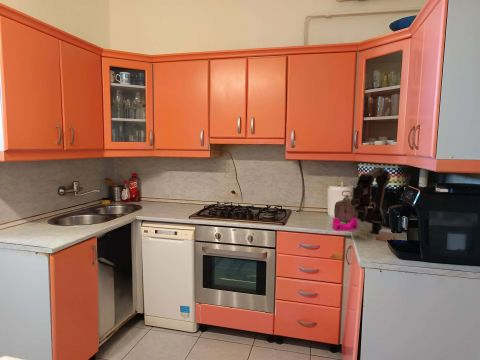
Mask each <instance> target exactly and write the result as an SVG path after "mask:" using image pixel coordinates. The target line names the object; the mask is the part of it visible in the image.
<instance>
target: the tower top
mask: <svg viewBox="0 0 480 360" xmlns="http://www.w3.org/2000/svg"><path fill="white" fill-rule="evenodd" d="M391 230H392V229H387V228H382V229H381V230H380V231H379V236H383V237H389V238H392V237H394V236H395V235H396V232H395V233H392V232H391Z"/></svg>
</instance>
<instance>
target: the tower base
mask: <svg viewBox="0 0 480 360" xmlns="http://www.w3.org/2000/svg"><path fill="white" fill-rule="evenodd" d="M397 238H398V237H397V235H396V234H395V236H394V237H392V238H389V237H383V236H379V234H376V235H375V241H380V242H385V243H386V242H387V240H391V239H392V240H393V239H397ZM387 243H388V242H387Z"/></svg>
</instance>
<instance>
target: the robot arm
mask: <svg viewBox="0 0 480 360" xmlns="http://www.w3.org/2000/svg"><path fill="white" fill-rule="evenodd" d="M390 180H391V174H390V173H389V171H388V170H385V168H384V167H378V166H377V167H374V169H372V170H370V171H369V172H364V173H361V174H360V175H359V177H358V180H357V182H356V187H355V188H354V190H353V193H354V195H355V196H356V197H359V198H357V199H355V198H350V199H351V201H350V202H351V203H350V204H352V206H354V205H357V204H358V205H357V206H355V210H356V211H357V212H358V216H359V219H360V222H361V223H364V221H365V219H366V220H367V221H368V223H370V224H371V230H369V231H370V234H372V233H373V234H376V235H378V234H379V231H380V230H381V229H383V228H382V227H383V226H382V225H386V219H385V217H384V211H383V208H382V207H383V201H384V197H385V191H386V187H387V186H388V185H389V184H390ZM374 182H375V183H376V192H375V197H374V202H372V199H373V196H372V188H373V184H374Z"/></svg>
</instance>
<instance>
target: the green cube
mask: <svg viewBox="0 0 480 360" xmlns="http://www.w3.org/2000/svg"><path fill="white" fill-rule="evenodd" d="M370 231H371V230H368V229H361V230H359V234H358V235H359V237H358V238H359V239H361V240H369V239H370V236H371V235H370V234H371V232H370Z"/></svg>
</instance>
